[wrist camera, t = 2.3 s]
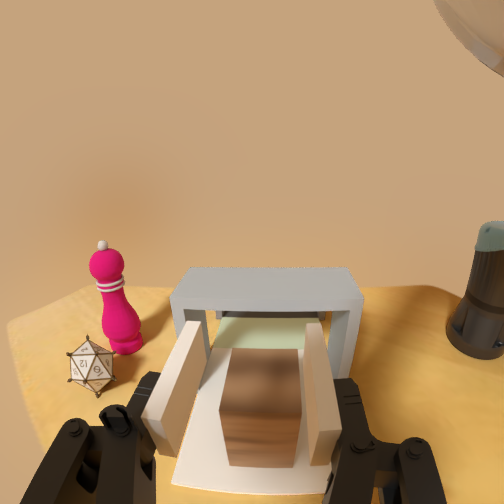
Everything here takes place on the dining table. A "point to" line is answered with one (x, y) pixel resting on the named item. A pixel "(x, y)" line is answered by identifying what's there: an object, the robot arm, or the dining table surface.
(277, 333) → the pad
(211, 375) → the tunnel
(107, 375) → the game die
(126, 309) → the pepper mill
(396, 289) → the dining table surface
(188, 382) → the robot arm
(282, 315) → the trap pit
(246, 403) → the walnut block
